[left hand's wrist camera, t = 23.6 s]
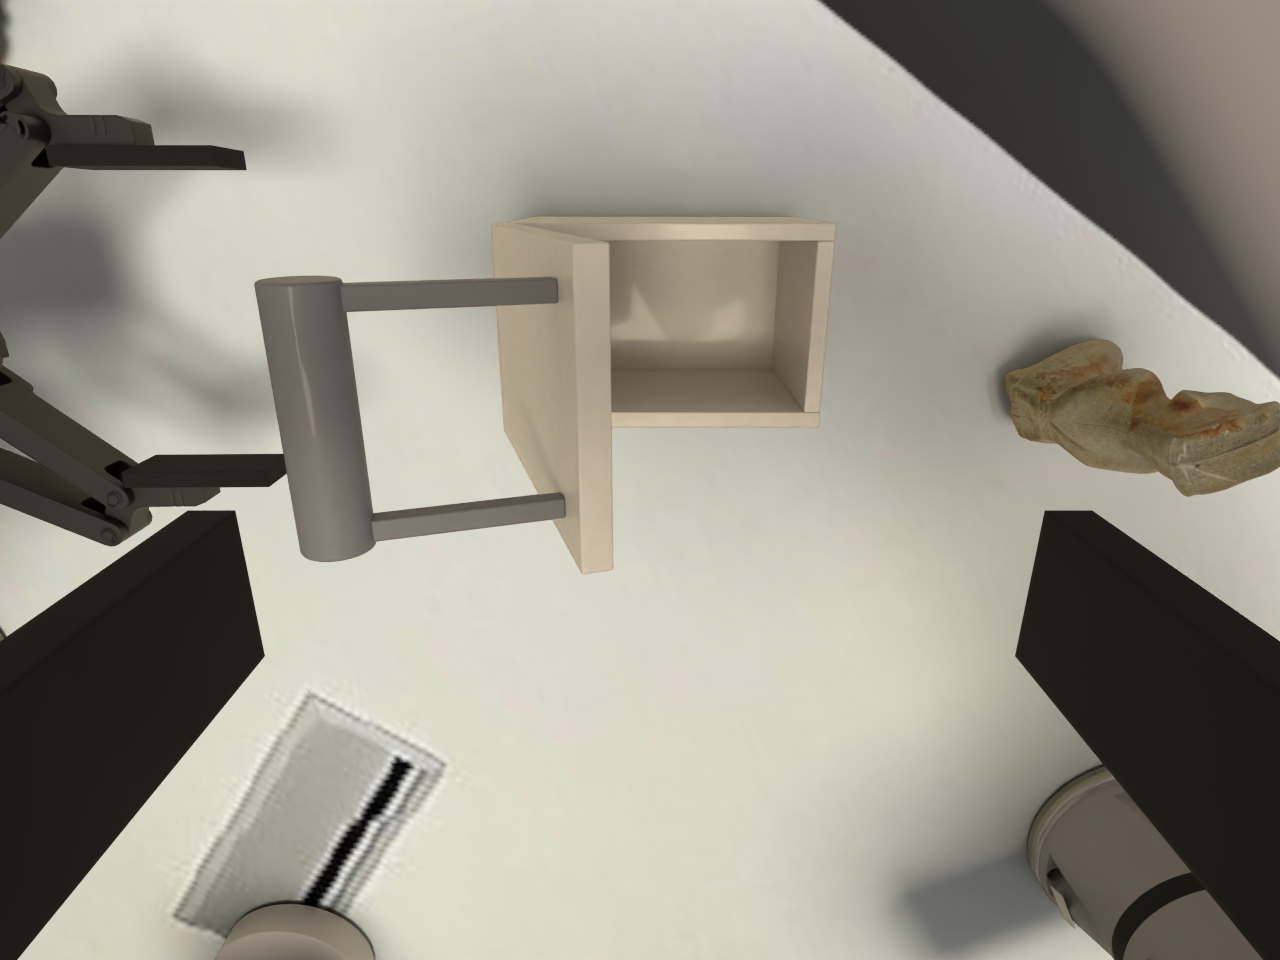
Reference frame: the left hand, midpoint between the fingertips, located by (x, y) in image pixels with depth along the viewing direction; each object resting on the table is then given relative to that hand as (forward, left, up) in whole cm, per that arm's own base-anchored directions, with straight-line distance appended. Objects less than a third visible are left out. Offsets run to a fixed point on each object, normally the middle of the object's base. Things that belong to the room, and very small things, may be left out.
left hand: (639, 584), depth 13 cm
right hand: (+15, +9, -23) cm, 28 cm away
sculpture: (-24, -10, -36) cm, 44 cm away
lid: (+3, +2, -17) cm, 18 cm away
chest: (-1, -1, -36) cm, 36 cm away
